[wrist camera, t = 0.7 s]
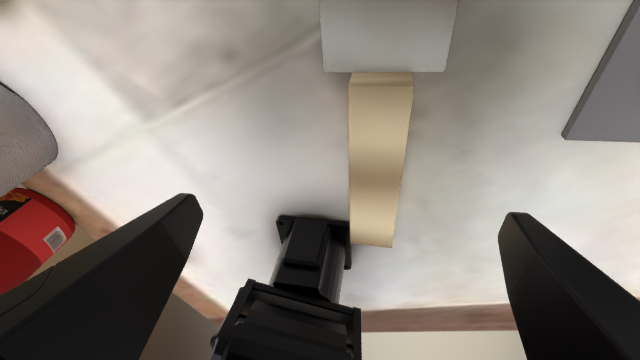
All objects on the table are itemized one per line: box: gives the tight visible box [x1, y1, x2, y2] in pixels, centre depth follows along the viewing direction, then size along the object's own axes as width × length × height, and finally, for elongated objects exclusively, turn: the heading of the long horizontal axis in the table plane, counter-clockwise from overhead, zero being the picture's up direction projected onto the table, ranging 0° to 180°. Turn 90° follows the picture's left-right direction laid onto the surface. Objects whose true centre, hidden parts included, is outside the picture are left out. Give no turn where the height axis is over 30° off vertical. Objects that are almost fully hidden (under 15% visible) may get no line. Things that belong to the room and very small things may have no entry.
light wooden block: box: [319, 0, 459, 248], centre depth 16 cm, size 19×6×3 cm, turn 5°
